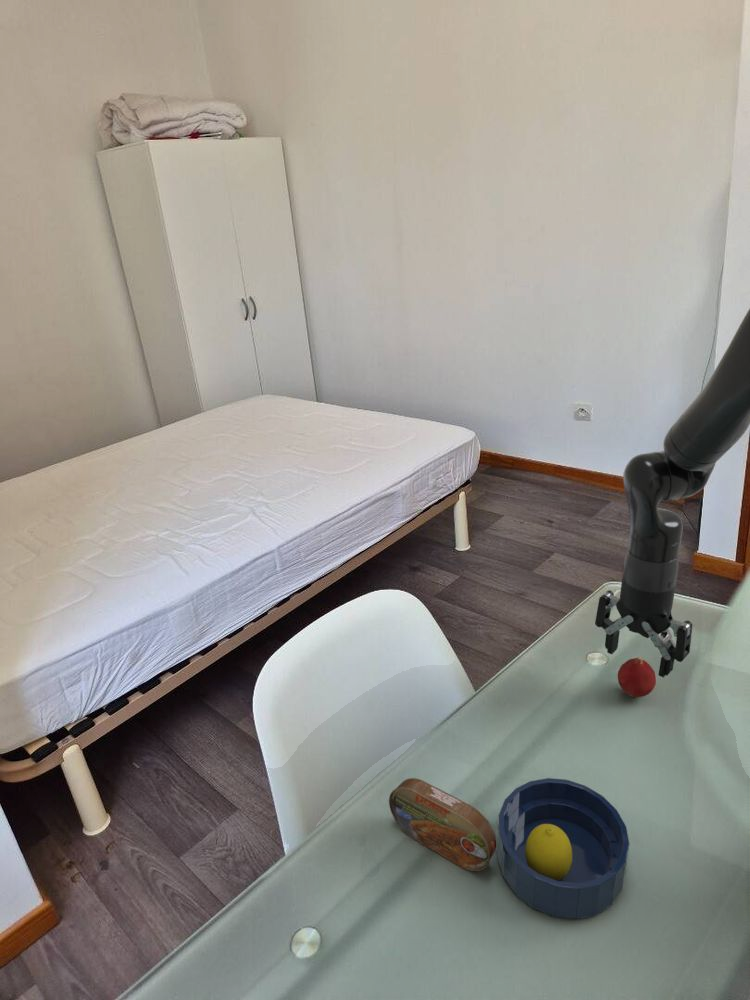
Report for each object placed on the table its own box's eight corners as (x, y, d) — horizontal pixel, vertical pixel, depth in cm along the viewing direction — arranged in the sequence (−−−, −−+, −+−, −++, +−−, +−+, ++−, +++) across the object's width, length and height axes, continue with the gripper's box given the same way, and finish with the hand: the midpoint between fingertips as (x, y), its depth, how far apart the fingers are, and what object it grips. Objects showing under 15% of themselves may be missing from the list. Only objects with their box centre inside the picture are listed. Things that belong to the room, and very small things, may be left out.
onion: (609, 686, 115) (613, 647, 111) (642, 681, 115) (648, 643, 112) (624, 710, 110) (629, 671, 106) (659, 706, 110) (665, 666, 107)
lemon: (579, 878, 84) (584, 834, 81) (548, 905, 81) (551, 860, 78) (545, 846, 88) (548, 803, 85) (514, 870, 86) (516, 826, 82)
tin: (389, 824, 93) (385, 780, 90) (402, 808, 96) (399, 764, 92) (487, 884, 85) (488, 837, 81) (499, 864, 87) (500, 818, 83)
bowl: (646, 857, 87) (651, 825, 84) (582, 949, 77) (586, 915, 75) (540, 791, 97) (542, 759, 94) (473, 864, 87) (473, 832, 85)
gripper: (708, 582, 100) (691, 670, 107) (616, 551, 109) (607, 633, 117) (686, 605, 95) (670, 695, 103) (592, 570, 105) (584, 655, 112)
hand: (636, 662), depth 110 cm, fingers open, 8 cm apart
